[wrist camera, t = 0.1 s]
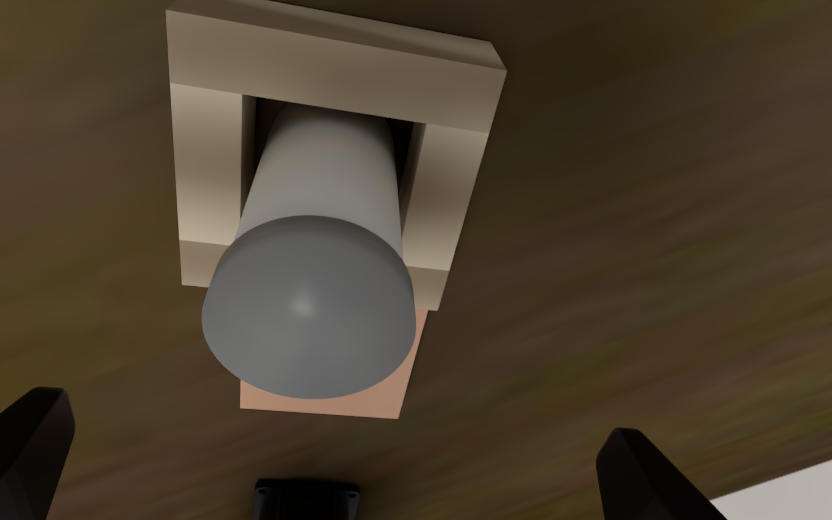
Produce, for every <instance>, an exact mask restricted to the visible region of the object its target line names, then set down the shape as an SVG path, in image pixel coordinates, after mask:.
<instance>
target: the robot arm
mask: <svg viewBox="0 0 832 520" xmlns="http://www.w3.org/2000/svg"><path fill="white" fill-rule="evenodd" d="M74 433H75V418H74V414H73V410H72V406H71V402H70V398H69V394H68V392H67V391H66V390H65V389H63V388H55V387H36V388H34V389H32V390H30V391H29V392H27V393H26V394H25V395H23V396H22V397H21V398H19V399H18V400H17V401H15V402H14V403H13V404H12V405H10V406H9V407H8V408H6V409H5V410H4V411H2V412H1V413H0V520H46V518H47V515H48V512H49V509H50V506H51V503H52V500H53V497H54V494H55V491H56V488H57V485H58V482H59V479H60V476H61V473H62V470H63V467H64V464H65V461H66V458H67V455H68V452H69V449H70V446H71V443H72V440H73V437H74ZM596 470H597V476H598V482H599V488H600V494H601V500H602V506H603V512H604V518H605V520H727V519H726V518H725V517H724V516H723V515H722V514H721V513H720V512H719V511H718V510H717V509H716V507H715V506H714V505H713V504H712V503H711V502H710V501H709V500H708V499H707V498H706V497H705V496H704V495H703V494H702V493H701V492H700V491H699V490H698V489H697V488H696V487H695V486H694V485H693V484H692V483H691V482H690V481H689V480H688V479H687V478H686V477H685V476H684V475H683V474H682V473H681V472H680V471H679V470H678V469H677V468H676V467H675V466H674V465H673V464H672V463H671V462H670V461H669V460H668V459H667V458H666V457H665V456H664V455H663V453H662V452H661V451H660V450H659V449H658V448H657V447H656V446H655V445H654V444H653V443H652V442H651V441H650V440H649V439H648V438H647V437H646V436H645V435H644V434H643V433H642V432H640V431H639V430H637V429H633V428H615V429H614V430H613V431H612V432H611V433H610V435H609V437H608V438H607V440H606V441H605V443H604V444H603V446H602V448H601V449H600V451H599V452H598V455H597V458H596ZM359 498H360V488H359V487H357V486H353V485H333V484H312V483H291V482H270V481H260V482H257V483H256V485H255V489H254V504H253V520H354V519H355V515H356V511H357V507H358V502H359Z"/></svg>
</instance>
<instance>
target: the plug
mask: <svg viewBox="0 0 832 520" xmlns="http://www.w3.org/2000/svg"><path fill="white" fill-rule="evenodd" d="M202 328H203V333H204V336H205V339H206V341H207V343H208V345H209V347H210V349H211V351H212V352H213V354H214V355H215V357H216V358H217V359H218V360H219V361H220V362H221V364H222V365H223V366H224V367H225V368H226V369H228V370H229V371H230V372H231V373H233V374H234V375H235V376H237V377H238V378H240V379H241V380H243V381H244V382H246V383H248V384H250V385H252V386H254V387H257V388H259V389H262V390H264V391H267V392H270V393H273V394H277V395H281V396H286V397H291V398H300V399H329V398H336V397H342V396H346V395H351V394H354V393H357V392H360V391H363V390H365V389H368V388H370V387H372V386H374V385H376V384H378V383H379V382H381V381H383V380H384V379H386V378H387V377H388V376H390V375H391V374H392V373H393V372H394V371H395V370H397V369H398V368H399V367H400V365H401V364H402V363H403V362H404V360H405V359H406V358H407V356H408V354H409V352H410V351H411V348H412V346H413V343H414V340H415V335H416V313H415V303H414V292H413V285H412V280H411V277H410V274H409V271H408V269H407V267H406V265H405V263H404V262H403V251H402V239H401V226H400V214H399V201H398V189H397V177H396V164H395V152H394V142H393V136H392V133H391V130H390V128H389V126H388V124H387V122H386V120H385V119H384V117H382V116H376V115H369V114H363V113H357V112H350V111H344V110H338V109H332V108H325V107H319V106H313V105H306V104H300V103H294V102H288V103H287V104H286V105H285V106H284V107H283V108H282V109H281V110H280V111H279V113H278V114H277V116H276V117H275V119H274V121H273V123H272V126H271V129H270V132H269V135H268V138H267V141H266V144H265V147H264V150H263V153H262V156H261V159H260V162H259V165H258V168H257V171H256V174H255V177H254V180H253V183H252V186H251V189H250V192H249V195H248V199H247V202H246V205H245V208H244V211H243V214H242V217H241V220H240V223H239V226H238V229H237V232H236V235H235V238H234V241H233V243H232V244H231V245H230V246H229V247H228V248H227V249H226V250H225V252H224V253H223V255H222V256H221V258H220V260H219V262H218V264H217V266H216V269H215V272H214V274H213V277H212V280H211V283H210V286H209V289H208V292H207V294H206V297H205V300H204V304H203V308H202Z"/></svg>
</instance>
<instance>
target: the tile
mask: <svg viewBox="0 0 832 520" xmlns="http://www.w3.org/2000/svg"><path fill="white" fill-rule="evenodd" d="M427 312H428V310H425V309H415V313H416V335H415V340H414V343H413V346H412V348H411V351H410V352H409V354H408V356H407V358H406V359H405V360H404V362H403V363H402V364H401V365H400V367H399V368H398V369H397V370H395V371H394V372H393V373H392V374H391V375H390V376H388V377H387V378H386V379H384V380H383V381H381V382H379V383H378V384H376V385H374V386H372V387H370V388H368V389H365V390H363V391H360V392H357V393H354V394H351V395H346V396H342V397H336V398H329V399H300V398H291V397H286V396H281V395H277V394H273V393H270V392H267V391H264V390H262V389H259V388H257V387H254V386H252V385H250V384H248V383H246V382H244V381H243V380H241V395H240V408H247V409H262V410H276V411H291V412H305V413H320V414H334V415H349V416H363V417H378V418H392V419H398V417H399V413H400V410H401V406H402V403H403V399H404V395H405V392H406V388H407V385H408V381H409V377H410V374H411V370H412V366H413V363H414V359H415V356H416V352H417V348H418V345H419V341H420V337H421V334H422V330H423V327H424V323H425V319H426V316H427Z"/></svg>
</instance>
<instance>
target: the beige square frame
mask: <svg viewBox="0 0 832 520" xmlns="http://www.w3.org/2000/svg"><path fill="white" fill-rule="evenodd" d="M166 25H167V42H168V58H169V75H170V91H171V108H172V125H173V141H174V158H175V175H176V191H177V208H178V225H179V241H180V258H181V275H182V285H191V286H201V287H209V286H210V283H211V280H212V277H213V274H214V272H215V269H216V266H217V264H218V262H219V260H220V258H221V256H222V255H223V253H224V252H225V250H226V249H227V248H228V247H229V246H230V245H231V244H232V243H233V241H234V238H235V235H236V232H237V229H238V226H239V223H240V220H241V217H242V214H243V211H244V208H245V205H246V202H247V199H248V195H249V192H250V189H251V186H252V183H253V180H254V154H255V122H256V97H262V98H269V99H275V100H281V101H287V102H294V103H300V104H306V105H313V106H319V107H325V108H332V109H338V110H344V111H350V112H357V113H363V114H369V115H376V116H382V117H388V118H395V119H401V120H407V121H413V122H414V123H413V128H412V133H411V137H410V142H409V147H408V152H407V157H406V162H405V167H404V172H403V177H402V182H401V187H400V191H399V196H398V201H399V214H400V226H401V239H402V251H403V262H404V263H405V265H406V267H407V269H408V271H409V274H410V277H411V280H412V285H413V292H414V303H415V309H425V310H435V311H438V308H439V304H440V301H441V298H442V294H443V291H444V287H445V284H446V280H447V277H448V273H449V270H450V266H451V263H452V260H453V256H454V253H455V249H456V246H457V242H458V239H459V235H460V232H461V229H462V225H463V222H464V218H465V215H466V211H467V208H468V204H469V201H470V197H471V194H472V191H473V187H474V184H475V180H476V177H477V173H478V170H479V166H480V163H481V159H482V156H483V153H484V149H485V146H486V142H487V139H488V135H489V132H490V128H491V125H492V121H493V118H494V115H495V111H496V108H497V104H498V101H499V97H500V94H501V90H502V87H503V84H504V80H505V77H506V73H507V70H506V68H505V66H504V64H503V63H502V61H501V59H500V58H499V56H498V54H497V52H496V51H495V49H494V47H493V45H492V44H491V42H488V41H482V40H477V39H472V38H466V37H461V36H456V35H450V34H445V33H439V32H434V31H429V30H423V29H418V28H413V27H407V26H402V25H397V24H391V23H386V22H381V21H375V20H370V19H365V18H359V17H354V16H349V15H343V14H338V13H332V12H327V11H322V10H316V9H311V8H306V7H300V6H295V5H290V4H284V3H279V2H274V1H268V0H176V1H175V2H174V3H173V4H171V5H170V6H169V7H168V8H167V9H166Z"/></svg>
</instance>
